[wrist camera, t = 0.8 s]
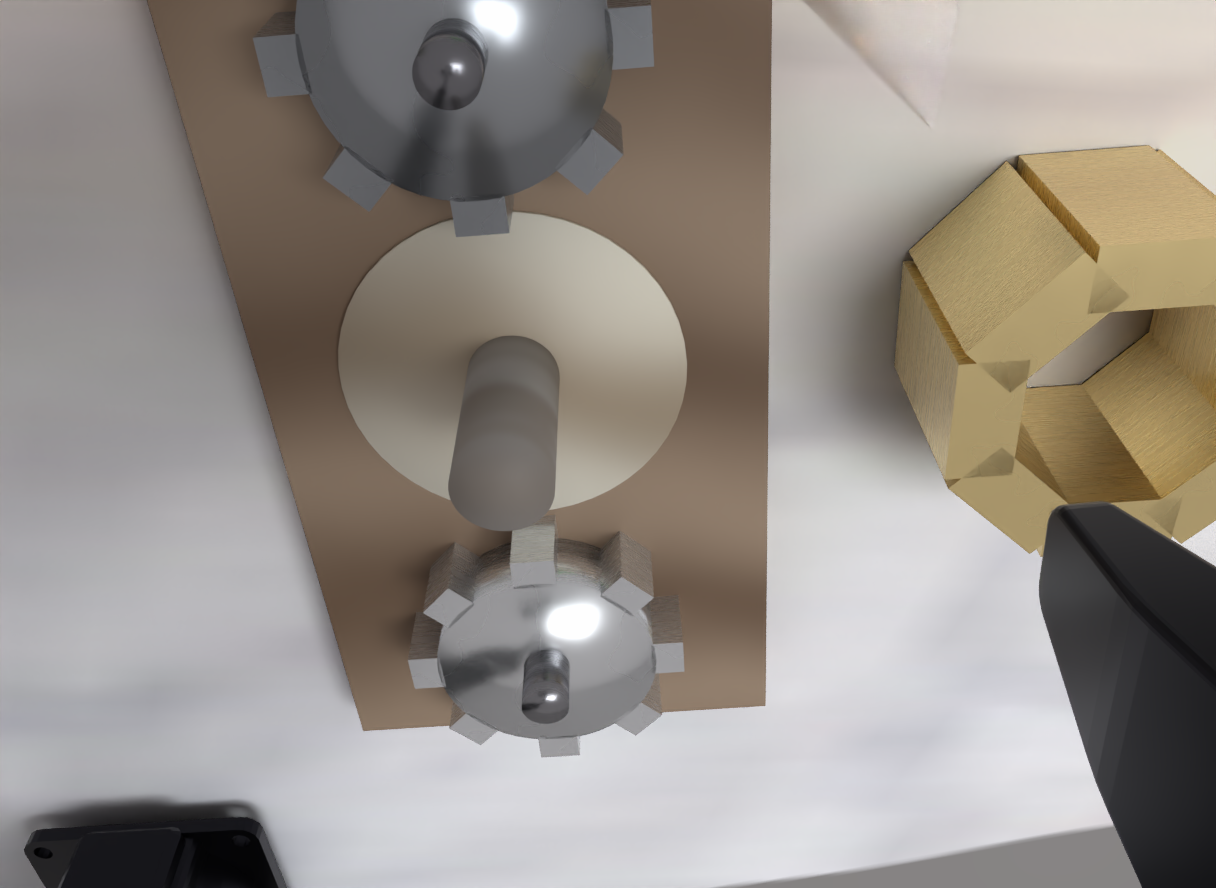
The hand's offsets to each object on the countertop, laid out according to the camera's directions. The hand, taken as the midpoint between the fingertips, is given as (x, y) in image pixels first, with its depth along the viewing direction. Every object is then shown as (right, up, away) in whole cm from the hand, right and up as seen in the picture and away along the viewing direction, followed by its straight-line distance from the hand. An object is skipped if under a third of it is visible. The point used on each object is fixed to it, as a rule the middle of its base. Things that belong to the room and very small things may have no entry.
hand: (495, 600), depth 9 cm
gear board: (-1, +3, +14) cm, 14 cm away
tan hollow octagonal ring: (+10, +4, +13) cm, 17 cm away
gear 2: (0, -3, +17) cm, 17 cm away
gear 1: (-1, +8, +9) cm, 12 cm away
